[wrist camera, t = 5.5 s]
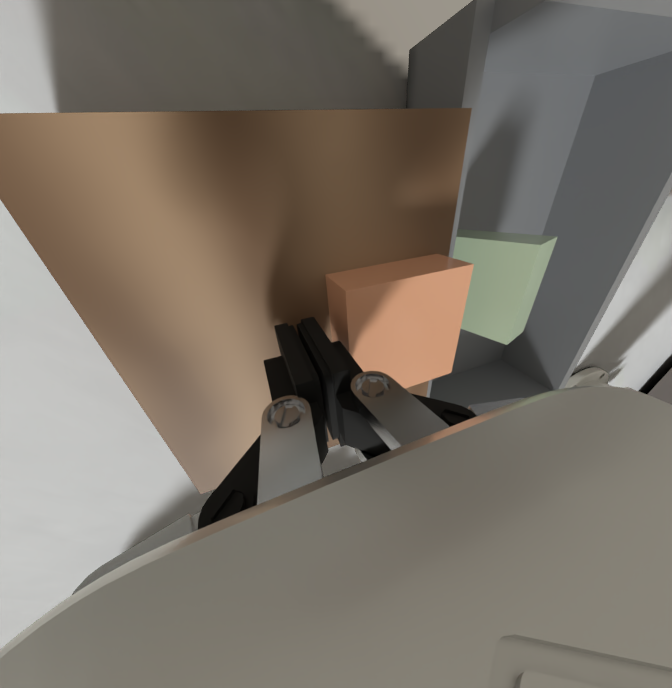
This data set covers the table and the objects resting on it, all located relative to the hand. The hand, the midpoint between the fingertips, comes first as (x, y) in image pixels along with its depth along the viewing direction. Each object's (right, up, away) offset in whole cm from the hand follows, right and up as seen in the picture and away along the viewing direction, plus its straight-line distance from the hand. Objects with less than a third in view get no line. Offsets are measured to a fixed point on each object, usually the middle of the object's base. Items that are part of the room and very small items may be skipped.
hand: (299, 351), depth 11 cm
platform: (-1, +3, +5) cm, 6 cm away
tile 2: (+4, +1, +2) cm, 5 cm away
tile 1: (+10, +4, +4) cm, 11 cm away
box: (+12, +6, +8) cm, 16 cm away
